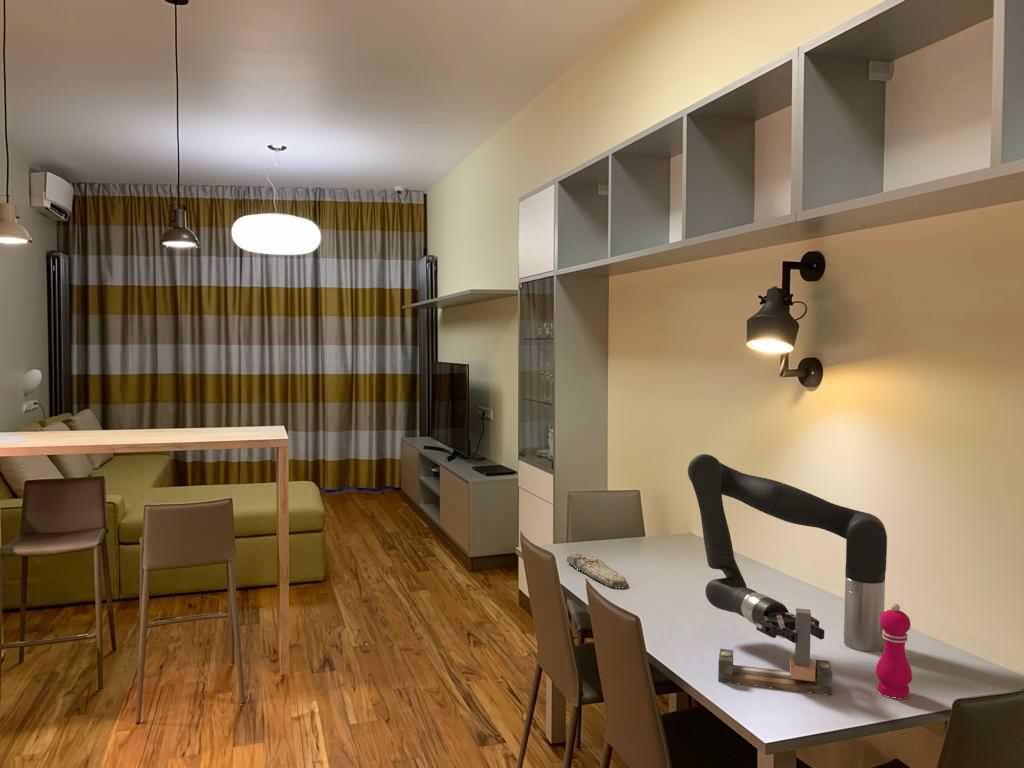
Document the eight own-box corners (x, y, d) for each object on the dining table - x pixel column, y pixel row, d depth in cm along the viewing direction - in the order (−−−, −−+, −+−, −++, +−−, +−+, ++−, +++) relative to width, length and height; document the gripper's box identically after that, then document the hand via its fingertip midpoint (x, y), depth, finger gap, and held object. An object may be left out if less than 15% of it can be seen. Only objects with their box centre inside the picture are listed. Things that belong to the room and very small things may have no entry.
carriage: (813, 669, 181) (814, 607, 180) (814, 681, 175) (816, 616, 174) (789, 667, 182) (791, 605, 181) (790, 678, 176) (791, 614, 175)
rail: (829, 682, 180) (829, 659, 180) (831, 695, 173) (832, 671, 173) (719, 669, 187) (720, 647, 187) (718, 681, 181) (718, 658, 180)
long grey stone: (607, 595, 247) (634, 593, 250) (608, 579, 246) (636, 577, 250) (558, 560, 279) (584, 559, 283) (559, 546, 278) (585, 544, 282)
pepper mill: (880, 683, 180) (882, 596, 179) (915, 692, 175) (917, 602, 174) (871, 694, 174) (873, 604, 173) (907, 703, 170) (909, 611, 169)
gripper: (738, 599, 189) (782, 623, 173) (790, 594, 193) (837, 616, 178) (738, 630, 190) (781, 657, 174) (789, 624, 194) (836, 649, 178)
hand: (809, 636), depth 176 cm, fingers open, 6 cm apart
